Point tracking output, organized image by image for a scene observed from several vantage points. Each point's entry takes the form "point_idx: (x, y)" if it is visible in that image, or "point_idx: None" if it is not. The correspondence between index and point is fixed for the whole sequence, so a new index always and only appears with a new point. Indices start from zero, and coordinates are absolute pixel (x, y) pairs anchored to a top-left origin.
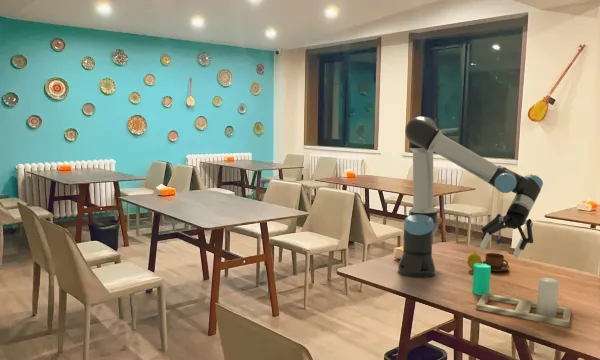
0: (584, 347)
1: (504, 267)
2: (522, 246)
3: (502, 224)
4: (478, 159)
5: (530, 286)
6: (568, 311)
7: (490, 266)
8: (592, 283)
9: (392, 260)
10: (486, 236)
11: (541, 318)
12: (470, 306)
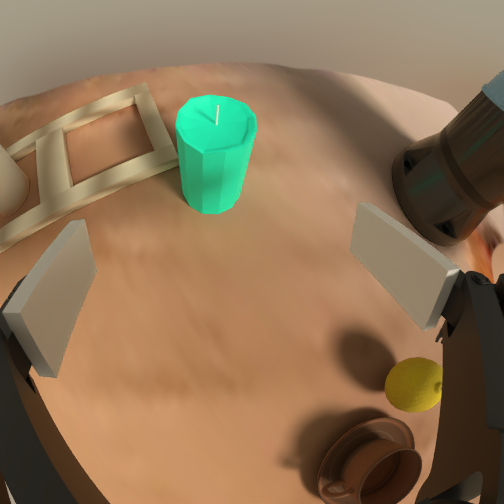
0: None
1: (344, 498)
2: (19, 284)
3: (478, 453)
4: None
5: (146, 417)
6: None
7: (179, 131)
8: None
9: (499, 228)
10: (419, 245)
11: (12, 146)
12: (165, 91)
